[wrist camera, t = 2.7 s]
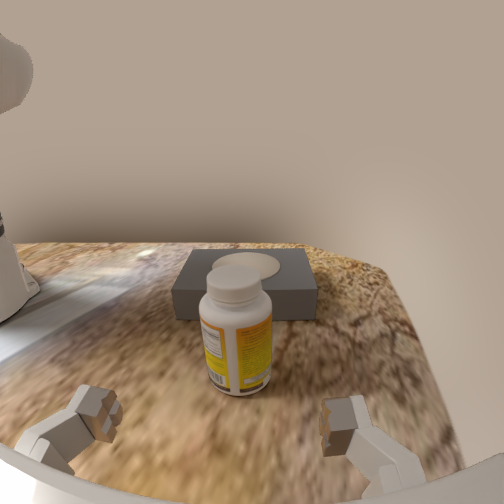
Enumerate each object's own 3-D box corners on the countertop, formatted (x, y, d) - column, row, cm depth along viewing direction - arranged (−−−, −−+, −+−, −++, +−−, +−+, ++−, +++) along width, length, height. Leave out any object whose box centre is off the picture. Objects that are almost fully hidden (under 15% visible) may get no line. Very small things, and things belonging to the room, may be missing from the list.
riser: (176, 319, 34) (171, 287, 33) (195, 274, 46) (192, 248, 44) (315, 319, 34) (318, 287, 32) (302, 273, 45) (304, 247, 44)
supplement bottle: (275, 360, 28) (277, 262, 24) (265, 403, 23) (265, 297, 19) (219, 353, 29) (209, 257, 25) (200, 393, 24) (183, 289, 20)
